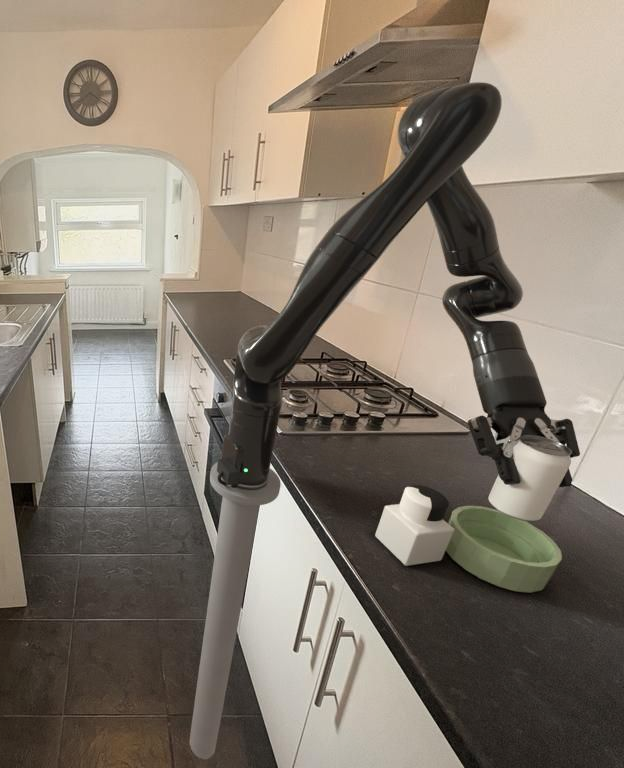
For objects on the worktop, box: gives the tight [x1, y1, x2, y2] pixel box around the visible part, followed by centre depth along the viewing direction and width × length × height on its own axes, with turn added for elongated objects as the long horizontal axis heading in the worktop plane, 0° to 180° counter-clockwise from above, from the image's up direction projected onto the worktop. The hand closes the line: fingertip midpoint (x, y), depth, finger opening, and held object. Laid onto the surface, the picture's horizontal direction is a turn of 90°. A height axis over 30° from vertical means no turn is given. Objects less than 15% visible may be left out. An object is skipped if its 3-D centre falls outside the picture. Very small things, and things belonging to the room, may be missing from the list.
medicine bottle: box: [374, 484, 454, 567], centre depth 70 cm, size 7×7×12 cm
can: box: [487, 435, 572, 522], centre depth 64 cm, size 6×6×12 cm
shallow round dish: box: [445, 505, 563, 594], centre depth 69 cm, size 14×14×6 cm
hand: (537, 485), depth 62 cm, fingers closed on can, 6 cm apart
